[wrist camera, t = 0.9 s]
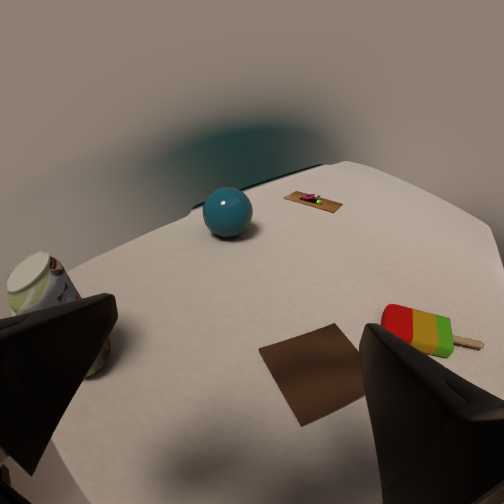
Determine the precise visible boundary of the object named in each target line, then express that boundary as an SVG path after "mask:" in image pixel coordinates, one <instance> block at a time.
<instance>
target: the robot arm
mask: <svg viewBox="0 0 504 504" xmlns="http://www.w3.org/2000/svg"><path fill="white" fill-rule="evenodd" d="M117 319H118V311H117V306H116V300H115V297H114V295H112V294H108V293H102V294H98V295H95V296H91V297H87V298H83V299H79V300H75V301H72V302H68V303H64V304H60V305H56V306H52V307H49V308H45V309H41V310H37V311H33V312H30V313H25V314H21V315H17V316H13V317H9V318H4V319H0V504H32V503H31V502H29V501H28V500H27V499H26V498H24V497H23V496H22V495H21V494H19V493H18V492H17V491H16V490H15V489H14V488H12V486H11V481H10V475H9V469H8V468H7V467H6V466H5V465H4V464H3V463H4V462H5V461H6V459H7V458H9V459H10V460H12V461H13V462H14V463H15V464H17V466H19V467H20V468H21V469H23V470H24V471H25V472H26V473H27V474H29V475H30V476H32V475H33V474H34V472H35V469H36V467H37V465H38V463H39V461H40V459H41V457H42V455H43V453H44V451H45V449H46V447H47V445H48V443H49V441H50V439H51V437H52V435H53V433H54V431H55V429H56V427H57V425H58V423H59V421H60V420H61V418H62V416H63V414H64V412H65V410H66V409H67V407H68V405H69V403H70V402H71V400H72V398H73V396H74V395H75V393H76V391H77V390H78V388H79V386H80V384H81V383H82V381H83V379H84V378H85V376H86V375H87V373H88V371H89V370H90V368H91V366H92V365H93V363H94V362H95V360H96V358H97V357H98V355H99V354H100V352H101V350H102V349H103V347H104V345H105V343H106V341H107V339H108V337H109V335H110V333H111V331H112V329H113V327H114V325H115V323H116V321H117ZM359 354H360V362H361V371H362V380H363V387H364V392H365V396H366V401H367V406H368V410H369V415H370V420H371V425H372V431H373V436H374V442H375V447H376V453H377V459H378V466H379V473H380V480H381V488H382V493H383V494H382V497H383V504H504V400H502V399H500V398H498V397H496V396H494V395H492V394H490V393H489V392H487V391H485V390H483V389H481V388H479V387H477V386H476V385H474V384H472V383H470V382H469V381H467V380H465V379H463V378H462V377H460V376H459V375H457V374H455V373H454V372H452V371H451V370H449V369H448V368H446V369H445V367H444V366H443V365H441V364H440V363H438V362H437V361H435V360H433V359H432V358H430V357H429V356H427V355H426V354H424V353H423V352H421V351H419V350H418V349H416V348H415V347H413V346H412V345H410V344H409V343H407V342H405V341H404V340H402V339H401V338H399V337H398V336H396V335H395V334H393V333H391V332H390V331H388V330H387V329H385V328H384V327H382V326H380V325H379V324H376V323H368V324H366V325H365V327H364V330H363V334H362V337H361V340H360V344H359Z"/></svg>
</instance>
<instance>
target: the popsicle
mask: <svg viewBox="0 0 504 504" xmlns="http://www.w3.org/2000/svg"><path fill="white" fill-rule="evenodd" d="M381 326H382V327H384V328H385V329H387V330H388V331H390V332H391V333H393V334H395V335H396V336H398V337H399V338H401V339H402V340H404V341H405V342H407V343H409V344H410V345H412V346H413V347H415V348H416V349H418V350H419V351H421V352H423V353H426V354H430V355H435V356H440V357H444V358H448V357H449V356H450V355H451V353H452V352H453V350H454V343H458V344H463V345H467V346H472V347H477V348H483V347H484V343H483V342H481V341H477V340H472V339H468V338H463V337H459V336H455V335H452V329H451V323H450V318H447V317H443V316H439V315H435V314H431V313H427V312H423V311H420V310H416V309H412V308H408V307H404V306H400V305H396V304H389V305H388V306H387V307H386V308H385V310H384V312H383V315H382V320H381ZM453 342H454V343H453Z"/></svg>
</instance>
